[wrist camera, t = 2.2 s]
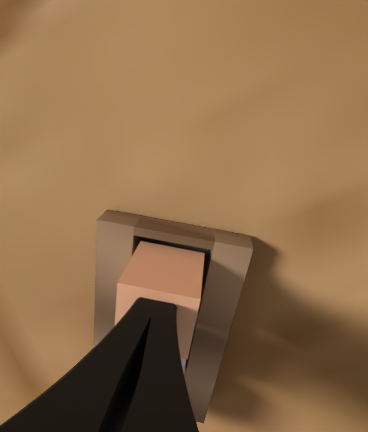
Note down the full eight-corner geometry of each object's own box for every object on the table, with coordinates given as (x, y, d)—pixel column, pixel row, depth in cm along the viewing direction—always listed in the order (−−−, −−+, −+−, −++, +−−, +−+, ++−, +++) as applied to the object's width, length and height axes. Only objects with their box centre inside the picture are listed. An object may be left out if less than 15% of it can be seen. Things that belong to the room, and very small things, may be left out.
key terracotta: (194, 304, 13) (187, 359, 10) (135, 292, 13) (113, 344, 10) (204, 253, 12) (200, 299, 9) (140, 241, 12) (117, 282, 9)
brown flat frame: (204, 402, 17) (203, 423, 16) (100, 379, 17) (92, 398, 16) (250, 235, 12) (253, 249, 11) (107, 209, 13) (96, 219, 12)
